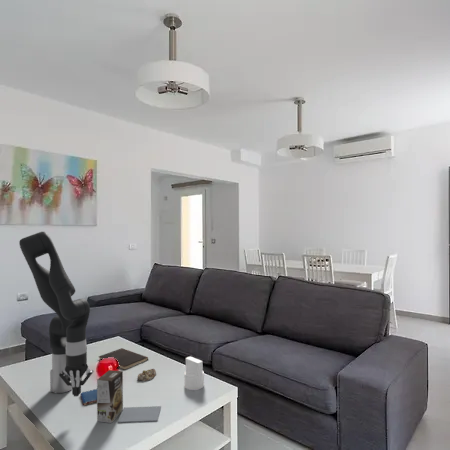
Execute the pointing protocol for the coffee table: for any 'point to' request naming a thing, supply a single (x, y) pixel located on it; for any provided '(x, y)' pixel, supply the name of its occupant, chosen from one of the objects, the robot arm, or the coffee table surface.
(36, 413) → the coffee table surface
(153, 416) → the mat
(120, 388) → the coffee box
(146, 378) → the mineral rock
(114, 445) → the coffee table surface
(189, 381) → the cylinder with rectangular tab
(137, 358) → the hardcover book
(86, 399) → the woven mat
